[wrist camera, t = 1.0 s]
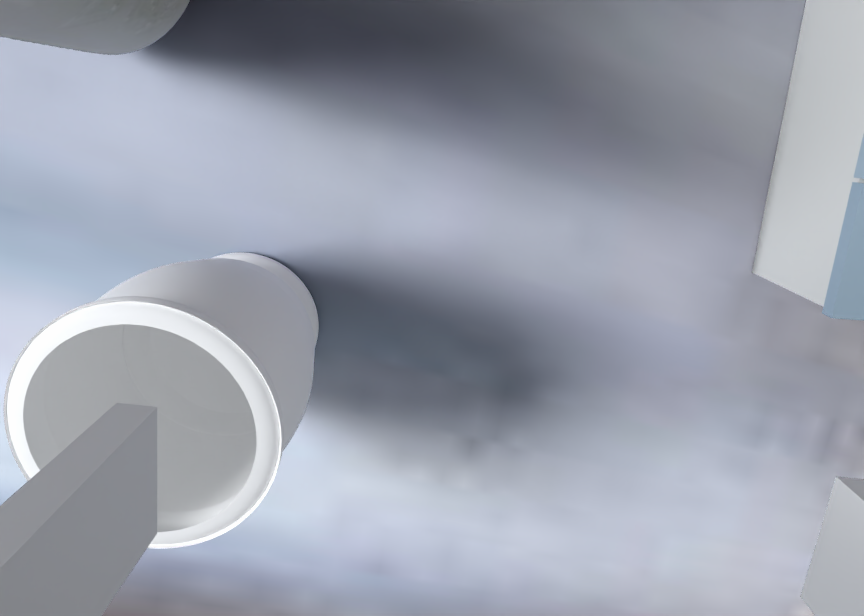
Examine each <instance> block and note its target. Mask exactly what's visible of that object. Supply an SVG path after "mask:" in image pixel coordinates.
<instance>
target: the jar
mask: <svg viewBox="0 0 864 616" xmlns="http://www.w3.org/2000/svg"><path fill="white" fill-rule="evenodd" d="M318 331H319V322H318V314H317V310H316V306H315V303H314V301H313V298H312V296H311V294H310V292H309V291H308V289H307V288H306V286H305V285H304V283H303V282H302V281H301V280H300V279H299V278H298V277H297V276H296V275H295V274H294V273H293V272H292V271H291V270H290V269H288V268H287V267H285V266H284V265H282V264H281V263H279V262H277V261H275V260H273V259H270V258H268V257H265V256H262V255H258V254H253V253H243V252H237V253H227V254H222V255H219V256H215V257H213V258H208V259H200V260H192V261H183V262H177V263H172V264H168V265H164V266H160V267H157V268H154V269H151V270H148V271H145V272H143V273H140V274H138V275H136V276H134V277H132V278H130V279H128V280H126V281H124V282H122V283H121V284H119V285H117V286H116V287H114V288H113V289H111V290H110V291H108V292H107V293H105V294H104V295H103V296H101V297H100V298H99V299H98V300H96V301H93V302H90V303H87V304H84V305H81V306H78V307H76V308H74V309H72V310H70V311H68V312H66V313H64V314H62V315H61V316H59V317H57V318H56V319H54V320H53V321H52V322H50V323H49V324H48V325H46V326H45V327H44V328H42V329H41V330H40V331H39V332H38V333H37V334H36V335H35V336H34V337H33V338H32V339H31V340H30V341H29V342H28V343H27V344H26V346H25V347H24V348H23V350H22V351H21V353H20V354H19V356H18V358H17V359H16V361H15V363H14V365H13V367H12V370H11V372H10V375H9V378H8V381H7V385H6V390H5V396H4V423H5V429H6V434H7V438H8V442H9V445H10V448H11V451H12V454H13V456H14V458H15V460H16V462H17V464H18V466H19V468H20V470H21V472H22V473H23V475H24V476H25V478H26V479H27V481H29V480H30V479H31V478H32V477H33V476H35V475H36V474H37V473H38V472H39V471H40V470H41V469H42V468H44V467H45V466H46V465H47V464H48V463H49V462H50V461H51V460H53V459H54V458H55V457H56V456H57V455H58V454H59V453H61V452H62V451H63V450H64V449H65V448H66V447H67V446H68V445H70V444H71V443H72V442H73V441H74V440H75V439H76V438H77V437H79V436H80V435H81V434H82V433H83V432H84V431H85V430H87V429H88V428H89V427H90V426H91V425H92V424H93V423H94V422H96V421H97V420H98V419H99V418H100V417H101V416H102V415H103V414H105V413H106V412H107V411H108V410H109V409H110V408H111V407H113V406H114V405H115V404H116V403H124V404H133V405H143V406H153V407H157V534H156V536H155V537H154V539H153V540H152V542H151V543H150V545H149V546H148V548H155V549H164V548H178V547H184V546H190V545H194V544H198V543H201V542H205V541H207V540H210V539H213V538H215V537H217V536H219V535H222V534H223V533H225V532H227V531H229V530H231V529H232V528H234V527H235V526H237V525H238V524H239V523H241V522H242V521H243V520H244V519H246V518H247V517H248V516H249V515H250V514H251V513H252V512H253V511H254V510H255V509H256V508H257V506H258V505H259V504H260V503H261V501H262V500H263V498H264V497H265V495H266V494H267V492H268V490H269V489H270V487H271V485H272V482H273V480H274V478H275V475H276V472H277V469H278V467H279V463H280V460H281V456H282V452H283V450H284V449H285V448H286V446H287V445H288V443H289V442H290V440H291V439H292V437H293V435H294V434H295V432H296V430H297V428H298V426H299V424H300V422H301V420H302V418H303V415H304V413H305V410H306V407H307V404H308V401H309V397H310V393H311V388H312V382H313V373H314V356H315V346H316V342H317V338H318Z"/></svg>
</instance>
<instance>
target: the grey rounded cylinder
mask: <svg viewBox="0 0 864 616" xmlns="http://www.w3.org/2000/svg"><path fill="white" fill-rule="evenodd" d="M189 1H190V0H0V37H6V38H11V39H15V40H21V41H27V42H32V43H39V44H43V45H49V46H56V47H60V48H66V49H73V50H78V51H83V52H91V53H98V54H107V55H119V54H126V53H131V52H135V51H138V50H141V49H143V48H145V47H147V46H149V45H151V44H153V43H155V42H156V41H157V40H159V39H160V38H161V37H162V36H164V35H165V34H166V33H167V32H168V31H169V30H170V29H171V28H172V27H173V26H174V25H175V24H176V22H177V21H178V20H179V18H180V17H181V16H182V14H183V12H184V11H185V9H186V7H187V5H188V3H189Z"/></svg>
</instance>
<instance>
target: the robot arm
mask: <svg viewBox="0 0 864 616" xmlns="http://www.w3.org/2000/svg"><path fill="white" fill-rule="evenodd" d="M156 534H157V407H153V406H143V405H133V404H124V403H116V404H115V405H114V406H113V407H111V408H110V409H109V410H108V411H107V412H106V413H105V414H103V415H102V416H101V417H100V418H99V419H98V420H97V421H96V422H94V423H93V424H92V425H91V426H90V427H89V428H88V429H87V430H85V431H84V432H83V433H82V434H81V435H80V436H79V437H77V438H76V439H75V440H74V441H73V442H72V443H71V444H70V445H68V446H67V447H66V448H65V449H64V450H63V451H62V452H61V453H59V454H58V455H57V456H56V457H55V458H54V459H53V460H51V461H50V462H49V463H48V464H47V465H46V466H45V467H44V468H42V469H41V470H40V471H39V472H38V473H37V474H36V475H35V476H33V477H32V478H31V479H30V480H29V481H28V482H27V483H25V484H24V485H23V486H22V487H21V488H20V489H19V490H18V491H16V492H15V493H14V494H13V495H12V496H11V497H10V498H9V499H7V500H6V501H5V502H4V503H3V504H2V505H1V506H0V616H102V614H103V613H104V611H105V610H106V608H107V607H108V605H109V604H110V602H111V601H112V599H113V598H114V597H115V595H116V594H117V592H118V591H119V589H120V588H121V586H122V585H123V583H124V582H125V580H126V579H127V577H128V576H129V574H130V573H131V571H132V570H133V568H134V567H135V565H136V564H137V563H138V561H139V560H140V558H141V557H142V555H143V554H144V552H145V551H146V549H147V548H148V546H149V545H150V543H151V542H152V540H153V539H154V537H155V536H156ZM800 597H801V598H802V599H803V601H804V602H805V603H806V605H807V606H808V607H809V609H810V610H811V611H812V613H813V614H814V615H815V616H864V479H856V478H847V477H837V476H836V479H835V482H834V485H833V489H832V492H831V495H830V499H829V502H828V505H827V509H826V512H825V515H824V519H823V522H822V525H821V529H820V532H819V535H818V539H817V542H816V545H815V549H814V552H813V555H812V559H811V562H810V565H809V569H808V572H807V575H806V579H805V582H804V585H803V589H802V592H801V595H800Z"/></svg>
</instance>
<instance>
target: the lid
mask: <svg viewBox="0 0 864 616" xmlns="http://www.w3.org/2000/svg"><path fill="white" fill-rule="evenodd" d="M854 178H862V179H864V134H863V138H862V143H861V147H860V151H859V156H858V160H857V164H856V169H855V173H854ZM822 314H824V315H826V316H828V317H830V318H837V319H851V320H864V183H859V182H852V186H851V190H850V195H849V199H848V203H847V208H846V212H845V216H844V221H843V225H842V229H841V233H840V238H839V242H838V246H837V251H836V255H835V259H834V264H833V268H832V272H831V277H830V281H829V285H828V290H827V294H826V298H825V303H824V307H823V311H822Z"/></svg>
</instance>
